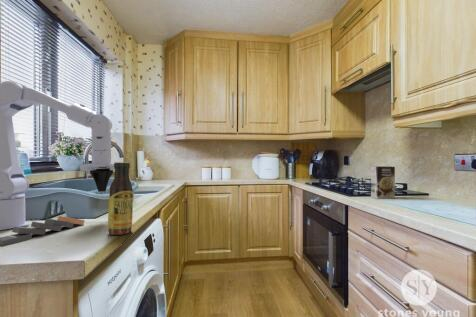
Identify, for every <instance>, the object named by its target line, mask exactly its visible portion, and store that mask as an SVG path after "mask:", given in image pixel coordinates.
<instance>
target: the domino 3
mask: <svg viewBox="0 0 476 317" xmlns="http://www.w3.org/2000/svg"><path fill="white" fill-rule="evenodd" d="M29 226H30V227H32V228H41V229H46V231H47V230H48V231H54V232H55V231H57V232H61V231H62V228H63V226H57V225H51V224H45V223H44V222H38V221H32V222H31V224H30V225H29Z"/></svg>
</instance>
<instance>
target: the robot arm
mask: <svg viewBox="0 0 476 317" xmlns="http://www.w3.org/2000/svg"><path fill="white" fill-rule="evenodd" d="M41 105H42V106H43V105H44V106H46V107H49V108H51V109H54V110H56V111H59V112H61V113H64V114H65V116H66V117H67V119H68V121H71V122H74V123H76V124H79V125H81V126H84V127H86V128H90V129H91V163H89V164H88V163H87V164H86V163H83V164H79V171H80V172H82V171H83V172H86V171H89V174H90V175H91V176H92V177H91V178H92V179H93V180H94V183H95V185H96V189H97V192H99V193H100V192H106V191H107V186H108V184H109V180H110V178H111V177H112V175H113V174H114V170H115V168H114V163H112V137H111V134H112V133H111V131H112V128H113V123H112V121H111V119H110V118H109V117H108V116H106V115H104V114H100V112H99V111H97V110H91V109H89V108H87V107H86V105H85V104H83V103H80V104H79V103H73V104H68V103H66V102H64V101H61V100H60V99H58V98H55V97H53V96H51V95H49V94H47V93H44V92H42V91H40V90H38V89H35V88H33V87H29V86H26V85H23V84H20V85H19V83H16V82H14V81H11V80H6V81H3V82H0V231H3V230H10V229H13V228H14V226H15V227H29V226H31V224H30V223H29V222H27V221H26V192H28V190H29V188H30V181H29V180H28V178H27V177H26V175H25V171H24V170H23V169H22V168H21V167H20V163H19V157H18V151H17V150H18V149H17V143H16V136H15V130H14V123H13V117H14V116H15V115H16V114H18V113H19V112H21V111H23V110H26V109H29V108H31V107H32V106H41Z"/></svg>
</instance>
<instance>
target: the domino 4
mask: <svg viewBox="0 0 476 317" xmlns="http://www.w3.org/2000/svg"><path fill="white" fill-rule="evenodd" d="M43 223H45V224H51V225H57V226H62V228H63V227H65V228H71V229H73V228H74V225H75V224H74V223H70V222H64V221H59V220H57V219H52V218H45V220H44V222H43Z"/></svg>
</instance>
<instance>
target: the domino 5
mask: <svg viewBox="0 0 476 317" xmlns="http://www.w3.org/2000/svg"><path fill="white" fill-rule="evenodd" d="M56 220H59V221H64V222H70V223H74V224H73V225H81V226H84V224H85V221H86V220H85V219H79V218H74V217H69V216H64V215H63V216H61V215H58V217H57V219H56Z"/></svg>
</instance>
